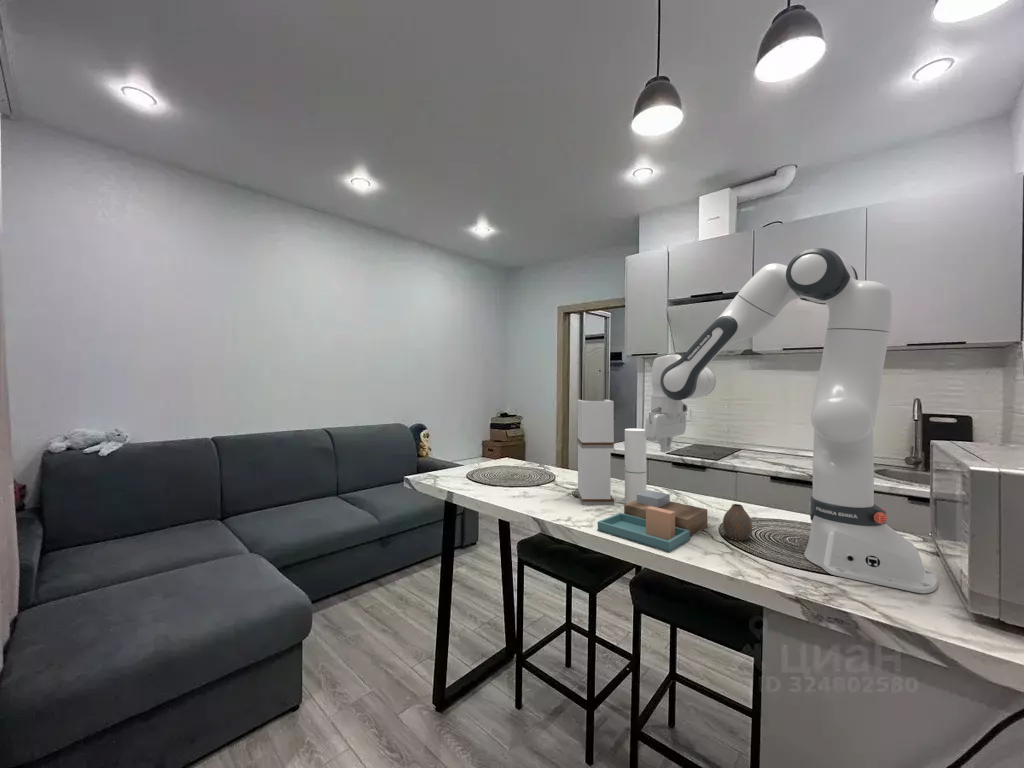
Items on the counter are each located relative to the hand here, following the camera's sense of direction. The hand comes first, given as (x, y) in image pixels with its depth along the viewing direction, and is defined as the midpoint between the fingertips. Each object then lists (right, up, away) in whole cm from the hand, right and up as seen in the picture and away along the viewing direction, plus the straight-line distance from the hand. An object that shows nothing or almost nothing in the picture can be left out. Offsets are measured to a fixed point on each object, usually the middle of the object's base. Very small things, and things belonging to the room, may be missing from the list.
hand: (665, 451), depth 130 cm
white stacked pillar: (-18, -20, +17) cm, 32 cm away
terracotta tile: (-7, -16, -17) cm, 25 cm away
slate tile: (-5, -15, -3) cm, 16 cm away
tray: (-12, -20, -16) cm, 28 cm away
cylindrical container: (-5, -20, +15) cm, 25 cm away
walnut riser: (-3, -20, -7) cm, 21 cm away
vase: (+12, -20, -19) cm, 30 cm away
